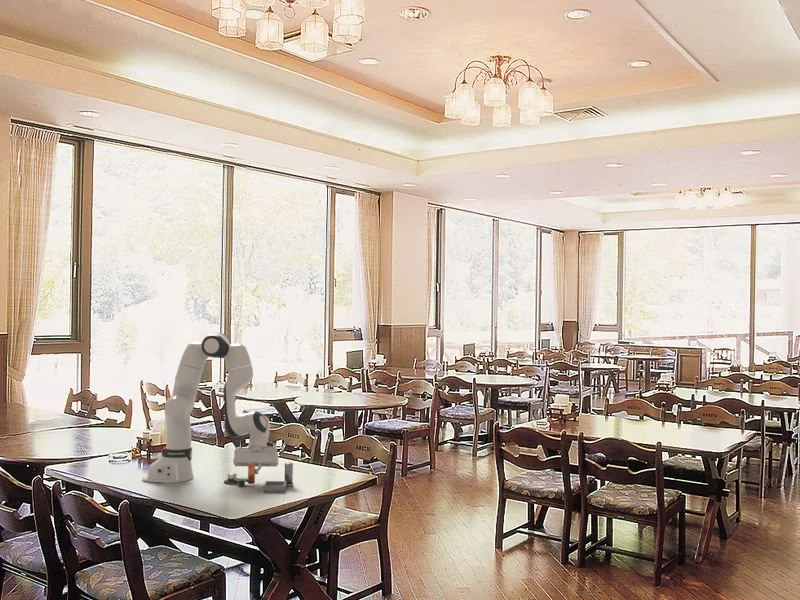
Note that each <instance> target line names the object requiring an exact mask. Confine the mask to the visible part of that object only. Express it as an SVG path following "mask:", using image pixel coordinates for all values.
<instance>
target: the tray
mask: <svg viewBox="0 0 800 600" xmlns="http://www.w3.org/2000/svg"><path fill="white" fill-rule="evenodd" d="M287 488H288V487H287V481H284V480H283V481H282V480H266V481H264V484H263V485H262V493H271V494H273V493H275V494H276V493H280V494H281V493H286V490H287Z"/></svg>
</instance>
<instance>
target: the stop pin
mask: <svg viewBox="0 0 800 600" xmlns="http://www.w3.org/2000/svg"><path fill="white" fill-rule="evenodd" d="M293 467H294V462H285V463H284V479H283V481H287V488H291V487H292V488H293V487H294V482H293V479H294V478H293V476H294V475H293V474H294V472H293V471H294V468H293Z"/></svg>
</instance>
